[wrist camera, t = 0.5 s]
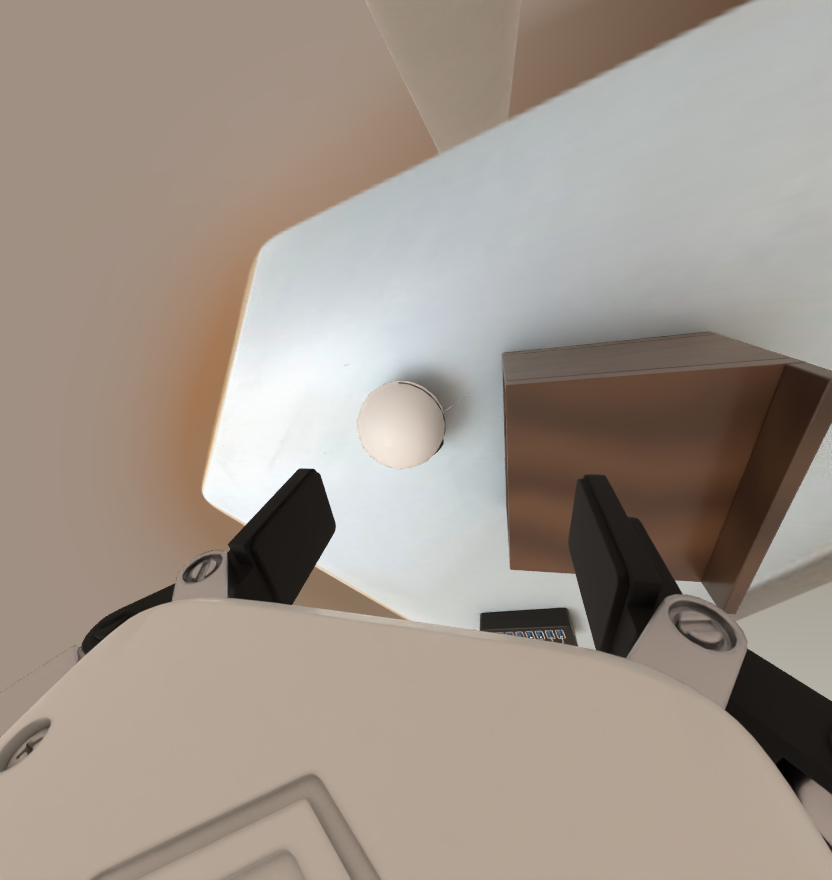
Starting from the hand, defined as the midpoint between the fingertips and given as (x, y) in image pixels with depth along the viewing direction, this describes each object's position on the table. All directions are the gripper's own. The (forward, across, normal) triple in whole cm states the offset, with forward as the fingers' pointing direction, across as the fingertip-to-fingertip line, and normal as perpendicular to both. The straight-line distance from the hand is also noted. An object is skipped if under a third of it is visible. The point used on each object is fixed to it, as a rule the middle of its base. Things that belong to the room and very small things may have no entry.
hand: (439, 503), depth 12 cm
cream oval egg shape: (+18, +4, +3) cm, 19 cm away
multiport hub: (+18, -6, +34) cm, 39 cm away
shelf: (+18, -10, +7) cm, 21 cm away
